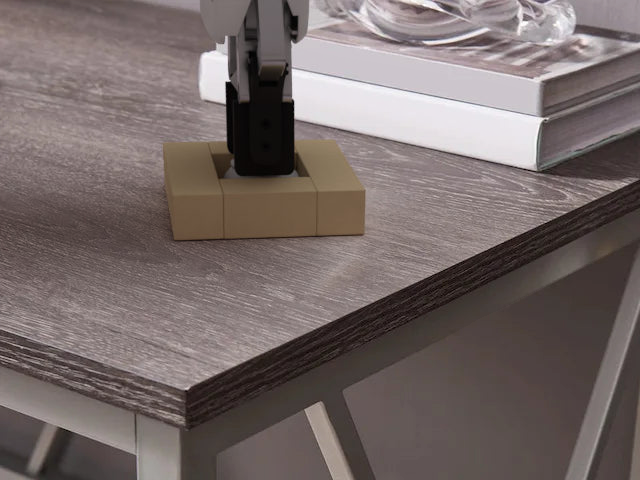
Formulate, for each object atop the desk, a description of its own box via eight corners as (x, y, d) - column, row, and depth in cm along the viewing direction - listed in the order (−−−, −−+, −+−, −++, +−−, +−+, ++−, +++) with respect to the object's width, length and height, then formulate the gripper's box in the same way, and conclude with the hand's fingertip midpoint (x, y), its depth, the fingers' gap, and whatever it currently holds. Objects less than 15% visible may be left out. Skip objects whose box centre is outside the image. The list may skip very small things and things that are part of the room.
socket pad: (174, 241, 67) (172, 194, 66) (164, 183, 76) (162, 141, 75) (364, 234, 69) (365, 189, 68) (333, 179, 78) (334, 138, 77)
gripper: (168, -210, 70) (182, 126, 78) (188, -198, 56) (202, 212, 64) (306, -205, 71) (305, 124, 80) (360, -193, 57) (353, 207, 65)
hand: (259, 159), depth 72 cm, fingers closed on rook chess piece, 3 cm apart
